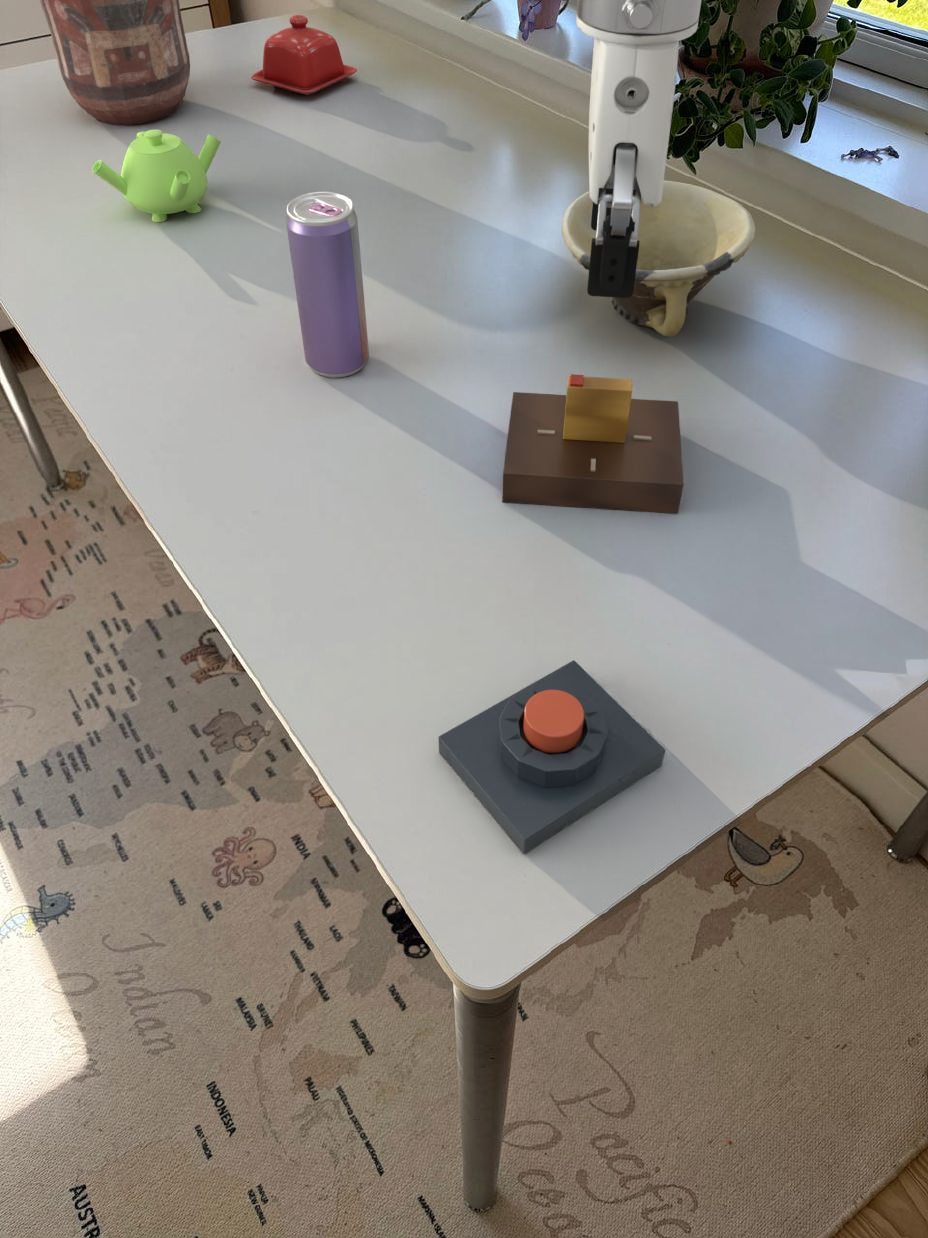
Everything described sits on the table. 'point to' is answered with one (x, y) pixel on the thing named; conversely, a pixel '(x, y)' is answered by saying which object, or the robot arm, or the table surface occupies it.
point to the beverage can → (328, 282)
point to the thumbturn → (597, 408)
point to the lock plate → (593, 458)
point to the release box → (549, 759)
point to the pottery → (121, 56)
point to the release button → (553, 721)
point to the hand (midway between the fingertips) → (610, 260)
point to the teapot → (161, 174)
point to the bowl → (670, 250)
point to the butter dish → (302, 59)
